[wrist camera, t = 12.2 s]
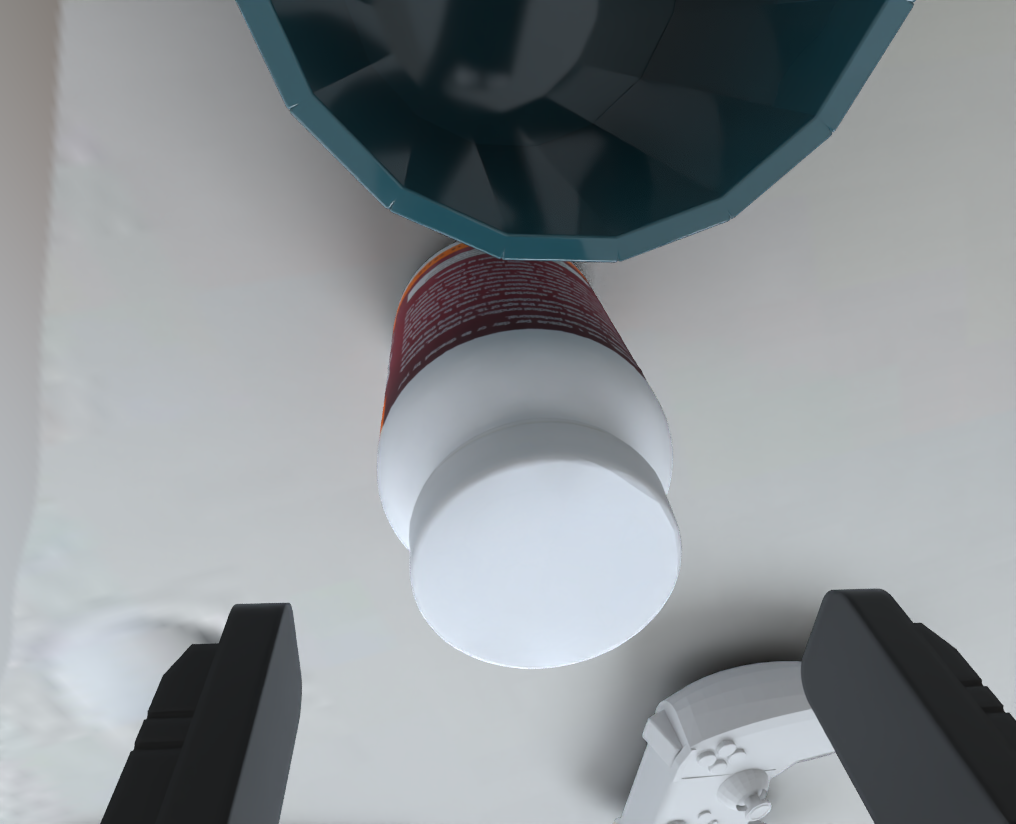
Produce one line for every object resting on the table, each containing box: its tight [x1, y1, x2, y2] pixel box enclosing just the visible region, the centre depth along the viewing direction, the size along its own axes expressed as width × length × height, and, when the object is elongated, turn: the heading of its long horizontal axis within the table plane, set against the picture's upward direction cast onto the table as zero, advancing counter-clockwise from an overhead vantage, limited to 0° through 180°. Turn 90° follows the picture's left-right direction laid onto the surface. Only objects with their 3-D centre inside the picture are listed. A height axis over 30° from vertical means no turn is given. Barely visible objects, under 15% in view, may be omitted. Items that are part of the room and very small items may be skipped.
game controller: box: [612, 661, 836, 824], centre depth 30 cm, size 14×4×10 cm
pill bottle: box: [377, 242, 682, 669], centre depth 17 cm, size 6×6×11 cm
